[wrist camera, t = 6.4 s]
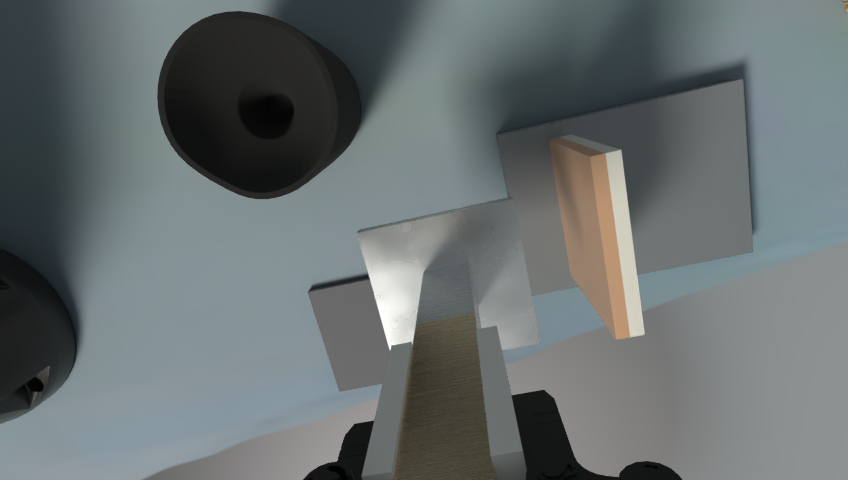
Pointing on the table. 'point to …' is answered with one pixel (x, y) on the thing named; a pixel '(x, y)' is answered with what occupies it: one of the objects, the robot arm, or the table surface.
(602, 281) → the tile
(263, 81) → the pen holder
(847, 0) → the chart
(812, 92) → the table surface
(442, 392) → the wooden post on base
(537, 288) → the slate board
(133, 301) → the table surface
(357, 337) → the mat
